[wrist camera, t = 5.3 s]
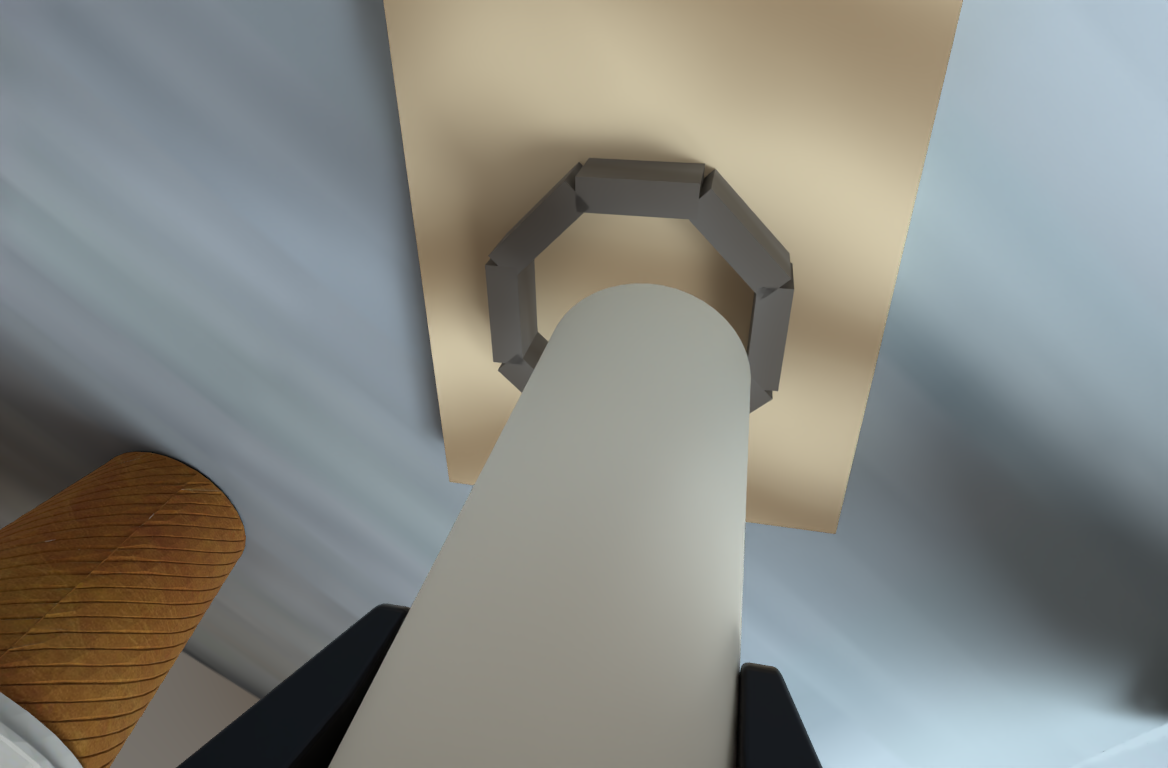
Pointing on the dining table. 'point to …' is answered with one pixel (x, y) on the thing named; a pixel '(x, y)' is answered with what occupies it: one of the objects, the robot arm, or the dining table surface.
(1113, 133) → the dining table surface
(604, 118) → the eye plate
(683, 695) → the peg
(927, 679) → the dining table surface
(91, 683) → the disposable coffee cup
